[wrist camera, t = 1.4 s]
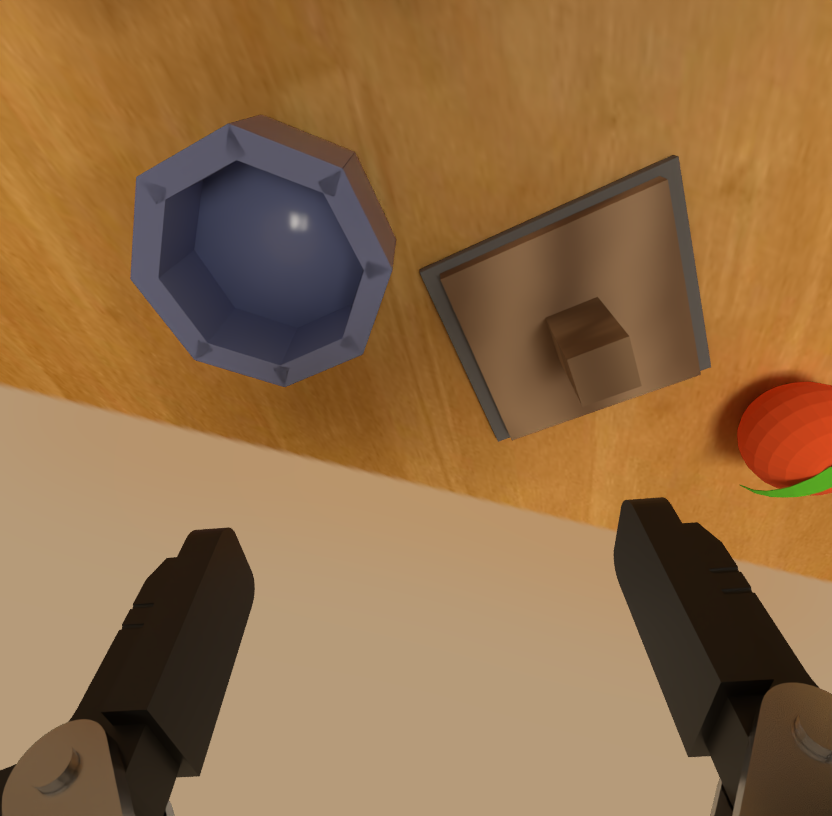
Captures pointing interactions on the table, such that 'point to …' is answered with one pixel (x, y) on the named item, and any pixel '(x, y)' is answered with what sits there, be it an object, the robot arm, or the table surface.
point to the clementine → (790, 439)
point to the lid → (580, 311)
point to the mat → (431, 273)
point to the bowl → (263, 250)
